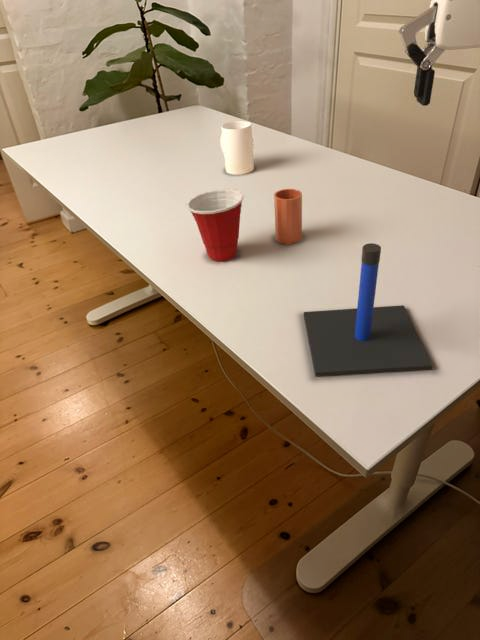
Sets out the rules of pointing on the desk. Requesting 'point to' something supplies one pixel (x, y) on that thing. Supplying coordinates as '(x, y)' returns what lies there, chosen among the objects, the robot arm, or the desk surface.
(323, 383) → the desk surface
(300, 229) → the pen glass
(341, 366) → the desk mat
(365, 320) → the marker
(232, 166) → the mug
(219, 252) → the plastic cup
